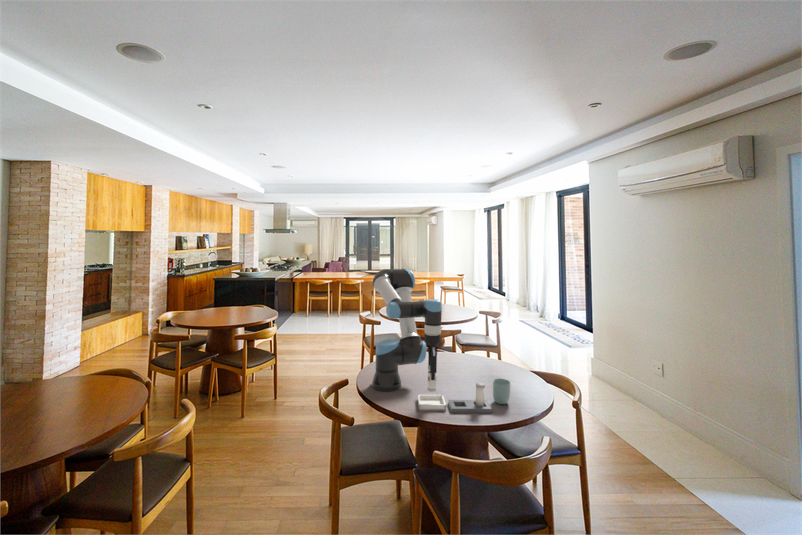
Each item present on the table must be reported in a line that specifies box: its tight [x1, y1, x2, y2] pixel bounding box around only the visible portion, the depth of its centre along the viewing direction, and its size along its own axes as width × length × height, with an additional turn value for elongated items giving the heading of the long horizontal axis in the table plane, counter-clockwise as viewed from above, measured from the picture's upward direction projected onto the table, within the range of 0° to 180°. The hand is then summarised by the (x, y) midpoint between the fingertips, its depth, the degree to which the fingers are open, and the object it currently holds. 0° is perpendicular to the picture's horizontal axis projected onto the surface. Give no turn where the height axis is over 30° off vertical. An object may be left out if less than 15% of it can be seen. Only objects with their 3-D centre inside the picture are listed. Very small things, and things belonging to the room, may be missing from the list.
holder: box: [448, 399, 494, 414], centre depth 157 cm, size 18×9×2 cm, turn 91°
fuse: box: [475, 382, 486, 407], centre depth 157 cm, size 4×4×11 cm
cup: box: [492, 378, 511, 405], centre depth 163 cm, size 8×8×10 cm
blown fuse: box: [427, 365, 437, 393], centre depth 159 cm, size 4×4×11 cm
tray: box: [417, 394, 447, 412], centre depth 160 cm, size 12×11×2 cm
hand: (432, 384), depth 159 cm, fingers closed on blown fuse, 4 cm apart
